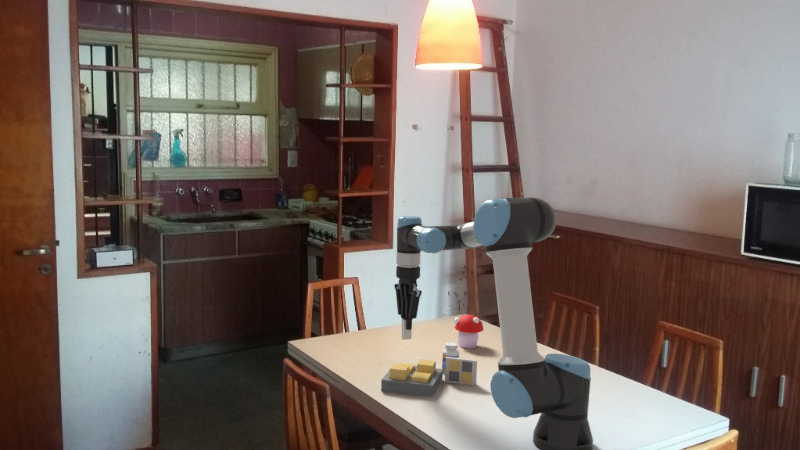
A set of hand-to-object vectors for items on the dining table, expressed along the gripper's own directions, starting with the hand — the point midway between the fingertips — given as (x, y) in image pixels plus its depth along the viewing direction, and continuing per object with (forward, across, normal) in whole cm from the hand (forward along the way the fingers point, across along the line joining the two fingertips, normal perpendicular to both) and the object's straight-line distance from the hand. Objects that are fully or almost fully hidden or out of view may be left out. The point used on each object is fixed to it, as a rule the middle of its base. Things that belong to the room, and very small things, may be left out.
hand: (406, 338), depth 228 cm
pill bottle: (+14, +1, -18) cm, 23 cm away
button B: (+11, -4, +5) cm, 13 cm away
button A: (+13, -9, 0) cm, 16 cm away
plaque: (+14, -9, -15) cm, 22 cm away
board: (+14, -4, 0) cm, 15 cm away
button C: (+11, -4, -5) cm, 13 cm away
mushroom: (+14, +22, -41) cm, 49 cm away
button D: (+13, +1, 0) cm, 13 cm away
